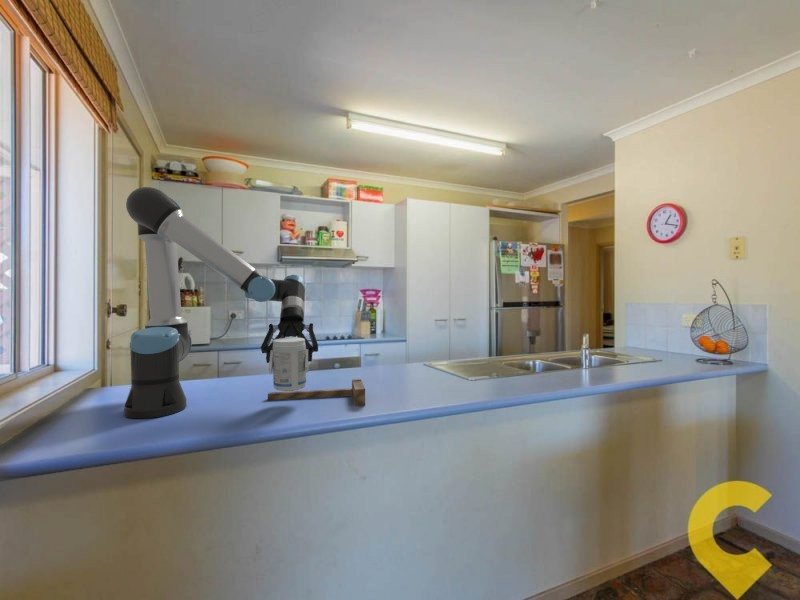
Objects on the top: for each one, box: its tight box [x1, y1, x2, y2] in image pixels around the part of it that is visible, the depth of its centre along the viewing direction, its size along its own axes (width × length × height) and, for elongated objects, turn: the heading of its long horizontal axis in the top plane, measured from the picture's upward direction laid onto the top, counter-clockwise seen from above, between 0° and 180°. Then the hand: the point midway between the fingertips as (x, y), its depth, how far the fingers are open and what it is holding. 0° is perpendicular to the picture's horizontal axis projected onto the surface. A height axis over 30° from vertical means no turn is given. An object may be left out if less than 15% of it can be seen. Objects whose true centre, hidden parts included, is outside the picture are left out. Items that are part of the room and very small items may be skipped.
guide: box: [267, 378, 366, 407], centre depth 119 cm, size 30×13×5 cm, turn 101°
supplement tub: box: [272, 337, 307, 392], centre depth 116 cm, size 10×10×15 cm
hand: (288, 370), depth 113 cm, fingers closed on supplement tub, 9 cm apart
